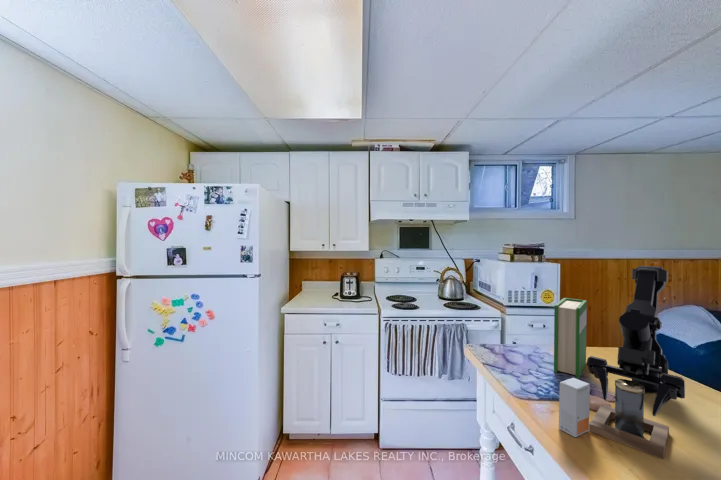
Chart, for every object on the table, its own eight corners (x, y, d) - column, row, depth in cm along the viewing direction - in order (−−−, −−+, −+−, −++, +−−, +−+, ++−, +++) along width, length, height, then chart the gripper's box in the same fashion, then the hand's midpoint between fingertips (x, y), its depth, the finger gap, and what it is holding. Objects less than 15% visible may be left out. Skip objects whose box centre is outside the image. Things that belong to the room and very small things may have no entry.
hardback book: (578, 378, 108) (579, 308, 107) (553, 372, 112) (554, 305, 112) (585, 362, 121) (586, 300, 120) (563, 357, 126) (563, 297, 125)
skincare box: (576, 438, 76) (576, 389, 76) (558, 428, 79) (558, 381, 79) (590, 431, 78) (590, 383, 78) (572, 422, 82) (572, 376, 82)
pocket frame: (601, 410, 88) (601, 404, 88) (668, 433, 78) (669, 426, 78) (589, 430, 79) (589, 423, 79) (663, 459, 69) (663, 451, 69)
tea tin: (630, 425, 81) (630, 378, 81) (650, 439, 75) (651, 389, 75) (608, 425, 81) (609, 379, 81) (627, 439, 75) (628, 389, 75)
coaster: (596, 396, 95) (596, 394, 95) (618, 411, 87) (618, 408, 87) (570, 397, 95) (570, 394, 95) (589, 411, 87) (589, 408, 87)
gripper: (588, 326, 87) (576, 378, 80) (685, 344, 74) (681, 408, 66) (595, 348, 93) (584, 398, 86) (686, 368, 79) (683, 429, 72)
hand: (628, 407), depth 77 cm, fingers open, 9 cm apart
